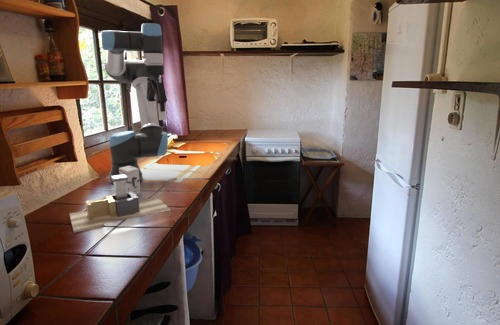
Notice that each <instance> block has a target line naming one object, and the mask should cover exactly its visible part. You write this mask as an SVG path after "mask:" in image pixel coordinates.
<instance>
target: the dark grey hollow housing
mask: <svg viewBox="0 0 500 325" xmlns="http://www.w3.org/2000/svg"><path fill="white" fill-rule="evenodd" d="M111 196H112V197H113V199H114V200H115V193H112V194H111ZM127 197H128V198H127V199H121V200H116V201H115V204H116V210H117V216H118V217H122V216H127V215H132V214H135V213H136V212H140V210H139V201H140V199H139V196H138V194H137V195H136V194H135V193H134V192H127Z"/></svg>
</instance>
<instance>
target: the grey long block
mask: <svg viewBox="0 0 500 325" xmlns="http://www.w3.org/2000/svg"><path fill="white" fill-rule="evenodd" d="M111 179H112V180H113V182H114V184H113V188H114V189H113V190H114V194H115V201H116V200H121V199H127V198H128V197H127V187H126V180H128V179H127V176H126V175H125V174H122V175H115V176H111Z"/></svg>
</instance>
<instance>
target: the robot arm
mask: <svg viewBox="0 0 500 325" xmlns="http://www.w3.org/2000/svg"><path fill="white" fill-rule="evenodd" d="M140 29H141V30H140V31H123V30H122V31H121V30H110V29H109V30H101V32H100V40H101V41H100V42H101V49H102V50H103V51H106V60H105V62H104V70H105V72H106V74H107V75H108V76H109V77H110V78H111V79H112V80H114V81H116V82H118V83H123V84H131V86H132V87H133V88H134V89H135V93H136V99H137V106H138V112H139V118H140V126H141V128H139V130H138V133H136V132H135V131H134V130H125V131H120V132H116V133H113V134H112V135H110V136H109V138H108V139H109V148H110V158H111V159H110V160H111V168H110V173H109V176H108V178H109V180H108V181H109V183H110V184H112V185H114V182H113V180H112V179H111V176H115V175H120V174H119V168H121V167H125V166H132V167H135V168H138V169H139V178H140V182H141V181H143V180H144V179H143V176H144V175H143V173H142V170H141V167H140V165H139V164H138V159H142V158H154V157H157V158H158V157H163V156H165V155H167V153H168V147H169V146H168V144H169V143H168V142H169V138H168V137H169V136H168V132H166V131H164V129H163V127H162V126H160V122H159V121H164V120H165V121H166V120H167V113H166V112H167V110H166V103H167V102H168V98H167V93H166V89H165V85H164V77H161V76H164V75H165V70H164V54H163V38H162V37H163V32H162V26H161V25H160V24H159V23H155V22H154V23H153V22H152V23H151V22H146V23H142V24H141V28H140ZM126 52H142V53H143V56H142V60H141V59H125V58H126ZM156 98H157V99H156ZM156 100H157V101H156ZM156 104H157V105H156Z"/></svg>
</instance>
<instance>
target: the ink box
mask: <svg viewBox="0 0 500 325" xmlns="http://www.w3.org/2000/svg"><path fill="white" fill-rule="evenodd" d="M119 174H120V175H122V174H125V175H126V176H127V179H128V180H126V187H127V192H134V193H135V194H136V195H137V196H138V195H141V181H140V178H139V169H138V168H135V167H132V166H125V167H121V168H119Z"/></svg>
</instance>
